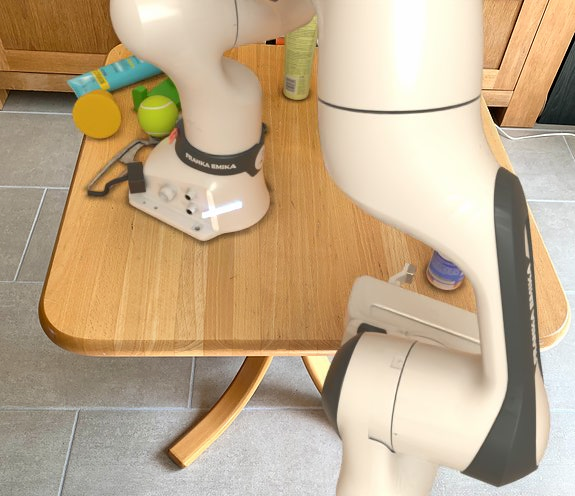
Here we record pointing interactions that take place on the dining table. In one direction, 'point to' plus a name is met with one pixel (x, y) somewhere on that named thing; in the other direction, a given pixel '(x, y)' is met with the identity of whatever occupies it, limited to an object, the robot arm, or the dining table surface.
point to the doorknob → (97, 114)
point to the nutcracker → (127, 155)
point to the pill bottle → (443, 272)
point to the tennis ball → (157, 115)
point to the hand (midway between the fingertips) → (449, 280)
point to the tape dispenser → (156, 93)
